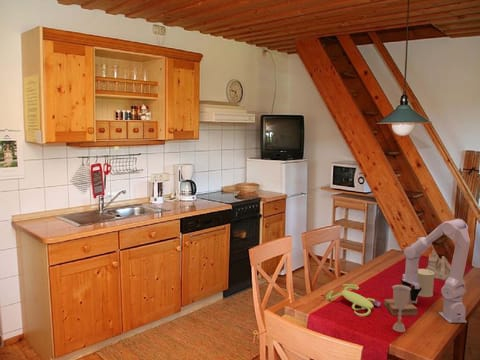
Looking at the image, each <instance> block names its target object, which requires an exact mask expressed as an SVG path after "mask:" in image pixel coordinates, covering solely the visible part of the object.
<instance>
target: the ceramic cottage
mask: <svg viewBox="0 0 480 360" xmlns="http://www.w3.org/2000/svg"><path fill="white" fill-rule="evenodd" d="M428 255H429V256H428V262H427V266H426V268H425V269H427V270H431V271H433V272H434V273H435V274H434V279H438V280H441V281H446V280H447V279H448V277H449V274H450V269H451V264H450V263H449V261H448V259H447V258H446V257H445V256H444V255H443V256H441V258H440V257H439V255H438V254H436V252H435V251H434V250H432V251H431V253H429V254H428Z"/></svg>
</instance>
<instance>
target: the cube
mask: <svg viewBox="0 0 480 360" xmlns="http://www.w3.org/2000/svg"><path fill="white" fill-rule="evenodd" d="M409 301H410V302H411V303H412V304H418V296H417V299H416V301H411V297H410V292H409Z"/></svg>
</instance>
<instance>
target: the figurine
mask: <svg viewBox="0 0 480 360" xmlns="http://www.w3.org/2000/svg"><path fill="white" fill-rule="evenodd" d="M342 287H344V289H343V290H342V291H341V292H339V293H337V294H335V295H333V294H334V290H332V289H331V290H330V291H329V292H328V293H327V294H326V296H325V300H330V301H331V300H334V299H336V298H340V296H343V297H344V298H345V299H346V300H347V301H349V302H351V304H352V305H351V308H352V310H354V315H356V316H358V317H366V316H369V315H370V314H371V312H372V309H373V308H374V306H376V307H378V308H380V306H381V304H382V302H380V301H378V300H377V299H375V298H370V297H367V298H366V296H365V297H364V296H362V295H361V294H358V293H356V292H354V291H359V290H360V287H359V286H358V285H357V284H353V283H352V284H349V283H348V284H346V283H343V284H342ZM349 289H350V290H349ZM352 290H354V291H352ZM355 306H359V307H361V308H355ZM357 310H358V311H359V310H362V311H364V310H367V311H366V313H365V312H364V313H358V312H357Z"/></svg>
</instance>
